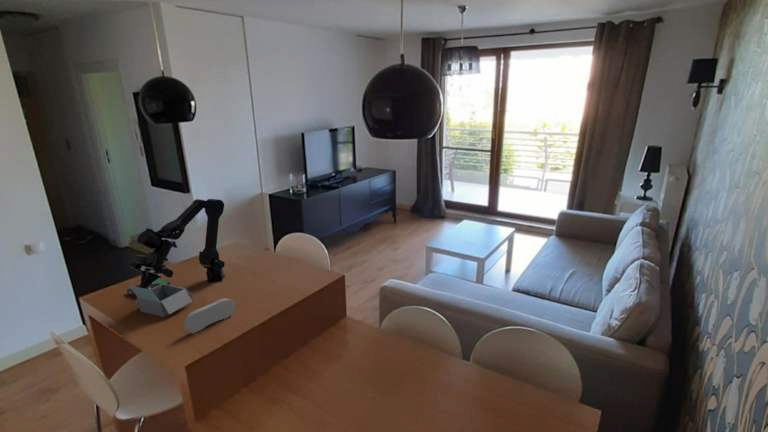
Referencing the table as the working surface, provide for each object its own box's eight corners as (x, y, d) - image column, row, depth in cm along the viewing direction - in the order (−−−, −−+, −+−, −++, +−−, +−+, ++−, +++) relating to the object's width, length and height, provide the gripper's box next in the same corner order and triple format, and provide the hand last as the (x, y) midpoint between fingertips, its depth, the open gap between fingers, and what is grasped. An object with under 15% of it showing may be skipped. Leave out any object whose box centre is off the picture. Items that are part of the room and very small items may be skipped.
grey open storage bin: (167, 293, 177) (164, 279, 175) (200, 301, 169) (197, 286, 167) (135, 310, 164) (131, 295, 161) (169, 319, 155) (165, 303, 153)
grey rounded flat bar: (233, 312, 158) (230, 294, 156) (236, 314, 157) (233, 295, 155) (185, 335, 144) (180, 315, 142) (188, 337, 143) (183, 317, 140)
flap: (130, 285, 157) (129, 286, 156) (151, 290, 152) (150, 290, 151) (138, 295, 160) (137, 296, 160) (159, 300, 155) (158, 301, 155)
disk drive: (137, 300, 173) (171, 287, 184) (136, 295, 172) (170, 281, 183) (127, 294, 179) (160, 281, 190) (126, 289, 178) (159, 276, 189)
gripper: (128, 243, 158) (108, 279, 151) (160, 248, 150) (140, 286, 144) (150, 253, 167) (132, 288, 161) (181, 259, 160) (163, 295, 153)
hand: (141, 289), depth 154 cm, fingers closed, pressing on flap
